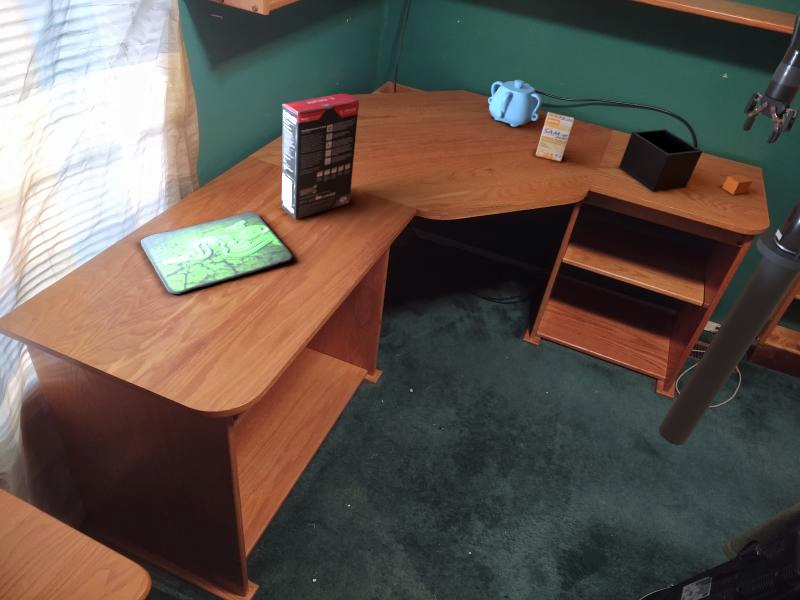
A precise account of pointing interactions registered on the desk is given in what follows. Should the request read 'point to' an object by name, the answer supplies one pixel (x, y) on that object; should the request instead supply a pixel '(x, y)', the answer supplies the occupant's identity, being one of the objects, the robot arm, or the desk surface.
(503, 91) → the decorative pot
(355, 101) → the graphics card box
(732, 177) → the orange rectangular block
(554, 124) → the supplement box
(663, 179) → the waste bin
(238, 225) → the mouse mat
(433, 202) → the desk surface
